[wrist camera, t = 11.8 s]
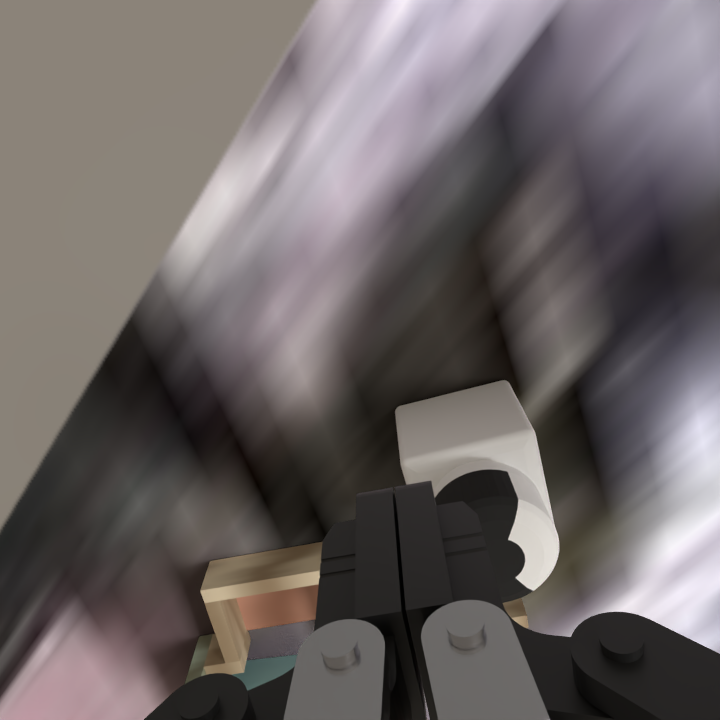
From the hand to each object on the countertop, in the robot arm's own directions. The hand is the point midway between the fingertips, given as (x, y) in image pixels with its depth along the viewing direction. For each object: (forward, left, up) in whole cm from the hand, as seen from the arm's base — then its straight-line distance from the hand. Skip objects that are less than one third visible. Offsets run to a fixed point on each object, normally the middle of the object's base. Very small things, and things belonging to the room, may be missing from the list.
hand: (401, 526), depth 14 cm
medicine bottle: (-3, +13, -27) cm, 30 cm away
